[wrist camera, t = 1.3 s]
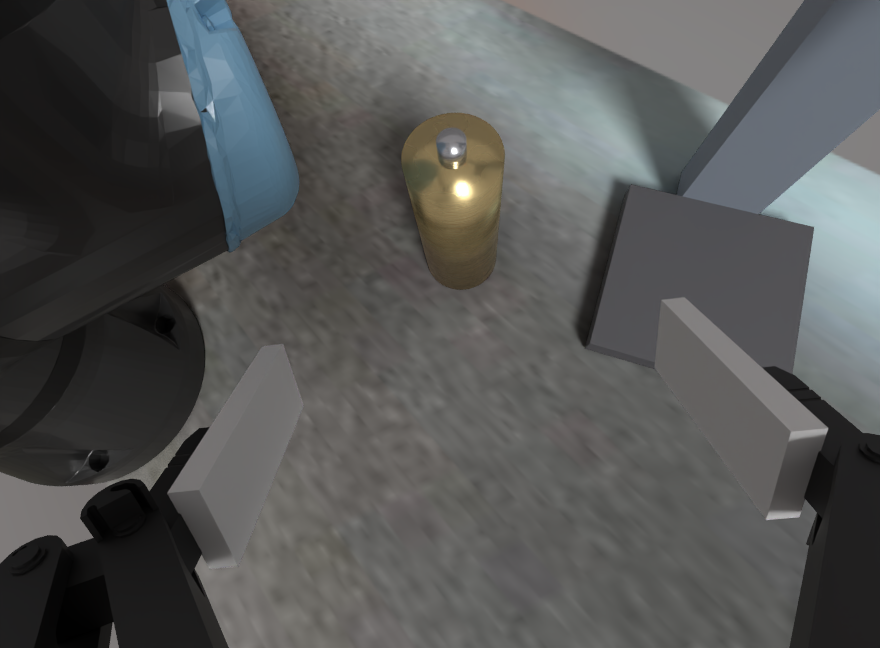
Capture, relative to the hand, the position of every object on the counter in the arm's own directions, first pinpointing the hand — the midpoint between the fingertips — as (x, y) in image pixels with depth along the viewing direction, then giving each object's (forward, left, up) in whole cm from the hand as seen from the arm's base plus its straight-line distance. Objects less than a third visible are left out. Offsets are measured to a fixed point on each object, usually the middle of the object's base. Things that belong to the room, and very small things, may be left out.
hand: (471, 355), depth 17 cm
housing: (-4, +10, -15) cm, 19 cm away
